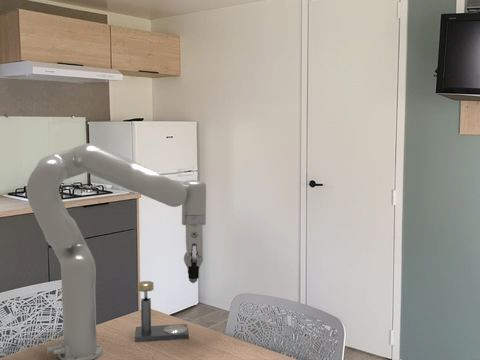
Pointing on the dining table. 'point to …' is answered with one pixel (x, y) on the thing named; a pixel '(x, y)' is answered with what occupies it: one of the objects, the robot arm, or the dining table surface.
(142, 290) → the brass knob
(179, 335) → the metal press stand
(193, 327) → the dining table surface
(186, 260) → the lightbulb
